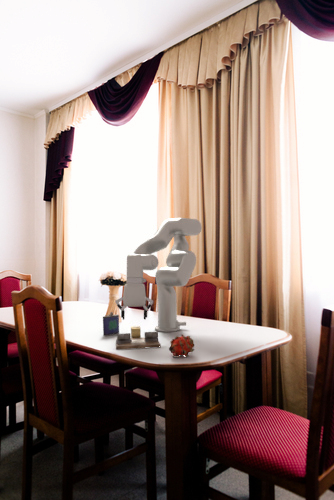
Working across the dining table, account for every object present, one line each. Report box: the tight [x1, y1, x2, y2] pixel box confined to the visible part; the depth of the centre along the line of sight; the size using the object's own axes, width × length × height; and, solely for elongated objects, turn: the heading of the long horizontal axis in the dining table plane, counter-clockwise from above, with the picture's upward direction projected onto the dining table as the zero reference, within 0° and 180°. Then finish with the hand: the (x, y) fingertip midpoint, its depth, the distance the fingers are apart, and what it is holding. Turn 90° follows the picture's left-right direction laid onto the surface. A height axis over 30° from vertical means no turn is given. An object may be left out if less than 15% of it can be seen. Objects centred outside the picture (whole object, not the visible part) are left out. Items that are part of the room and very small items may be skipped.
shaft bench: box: [115, 331, 161, 350], centre depth 160 cm, size 18×14×5 cm
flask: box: [102, 311, 120, 337], centre depth 181 cm, size 9×3×11 cm, turn 138°
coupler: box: [130, 325, 142, 338], centre depth 171 cm, size 5×4×5 cm
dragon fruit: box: [168, 334, 195, 357], centre depth 141 cm, size 8×8×12 cm
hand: (134, 319), depth 171 cm, fingers open, 9 cm apart
